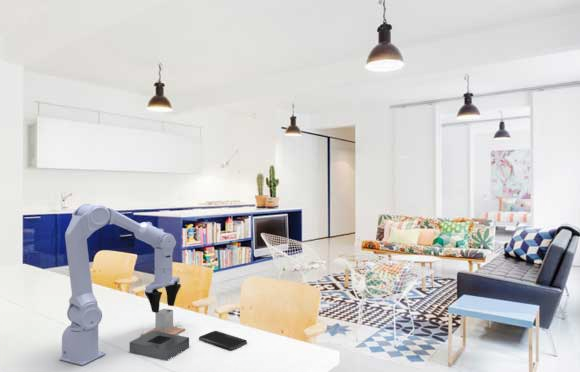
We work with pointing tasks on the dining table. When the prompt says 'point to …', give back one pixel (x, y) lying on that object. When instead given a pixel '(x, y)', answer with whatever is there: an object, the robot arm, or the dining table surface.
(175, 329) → the mat
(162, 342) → the socket plate
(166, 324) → the steel peg
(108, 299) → the dining table surface
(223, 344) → the phone
